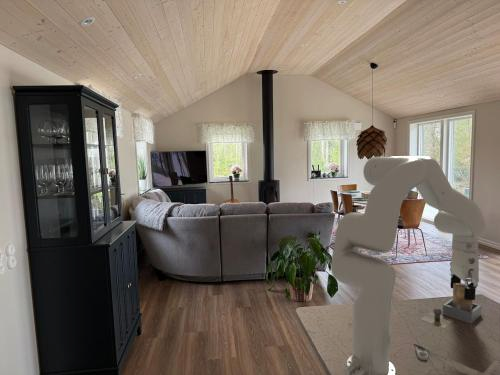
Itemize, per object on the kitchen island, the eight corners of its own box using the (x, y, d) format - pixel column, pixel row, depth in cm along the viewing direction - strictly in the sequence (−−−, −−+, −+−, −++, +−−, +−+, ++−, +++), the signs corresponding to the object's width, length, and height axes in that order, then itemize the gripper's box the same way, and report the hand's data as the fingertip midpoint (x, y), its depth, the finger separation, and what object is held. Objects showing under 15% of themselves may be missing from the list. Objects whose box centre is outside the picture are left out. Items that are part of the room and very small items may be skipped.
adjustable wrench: (429, 362, 100) (429, 356, 100) (404, 358, 102) (404, 353, 102) (417, 320, 124) (417, 315, 123) (398, 318, 126) (398, 313, 125)
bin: (471, 327, 117) (471, 313, 117) (442, 318, 124) (442, 304, 123) (480, 319, 123) (481, 305, 122) (452, 310, 130) (453, 297, 129)
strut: (471, 319, 121) (473, 288, 120) (457, 318, 121) (459, 288, 120) (465, 313, 125) (466, 283, 124) (452, 313, 126) (453, 283, 124)
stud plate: (444, 332, 115) (445, 316, 114) (419, 323, 121) (420, 307, 120) (454, 324, 120) (455, 308, 119) (430, 316, 126) (430, 301, 125)
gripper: (491, 252, 111) (487, 304, 113) (463, 239, 129) (461, 284, 130) (466, 252, 112) (463, 304, 114) (442, 238, 129) (439, 284, 131)
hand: (462, 293), depth 122 cm, fingers open, 9 cm apart
